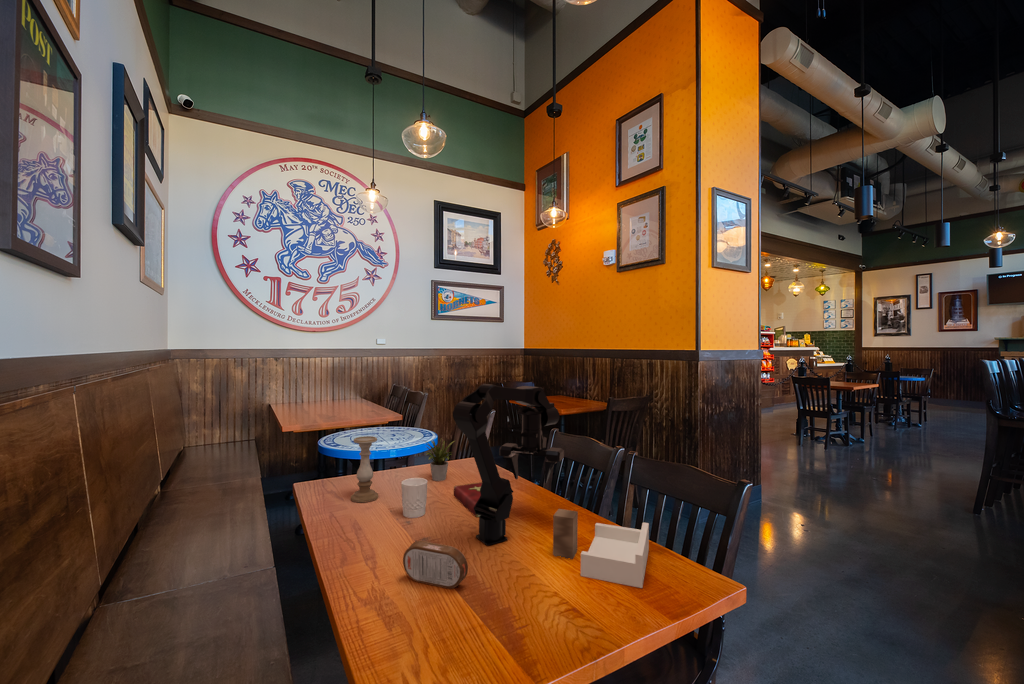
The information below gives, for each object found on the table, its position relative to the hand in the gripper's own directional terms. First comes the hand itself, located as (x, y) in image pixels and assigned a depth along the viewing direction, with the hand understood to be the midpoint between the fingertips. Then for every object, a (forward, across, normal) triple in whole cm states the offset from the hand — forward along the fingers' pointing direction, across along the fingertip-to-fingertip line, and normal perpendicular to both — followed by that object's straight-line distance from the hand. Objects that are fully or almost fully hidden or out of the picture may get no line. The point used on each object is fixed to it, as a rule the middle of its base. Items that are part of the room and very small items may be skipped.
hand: (531, 480), depth 131 cm
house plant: (+12, +48, -25) cm, 55 cm away
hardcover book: (+13, +20, -8) cm, 25 cm away
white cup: (+12, +35, +8) cm, 38 cm away
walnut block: (+12, -14, +16) cm, 24 cm away
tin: (+12, +9, +40) cm, 43 cm away
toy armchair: (+12, -28, +16) cm, 34 cm away
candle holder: (+12, +58, +3) cm, 60 cm away
